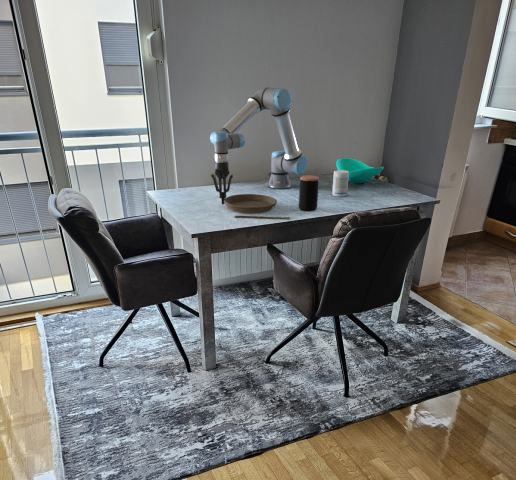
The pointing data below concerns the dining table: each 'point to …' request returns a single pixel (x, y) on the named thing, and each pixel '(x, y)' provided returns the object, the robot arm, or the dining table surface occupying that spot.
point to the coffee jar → (308, 193)
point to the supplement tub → (340, 183)
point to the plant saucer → (250, 203)
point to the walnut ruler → (261, 217)
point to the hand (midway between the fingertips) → (223, 203)
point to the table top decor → (357, 170)
